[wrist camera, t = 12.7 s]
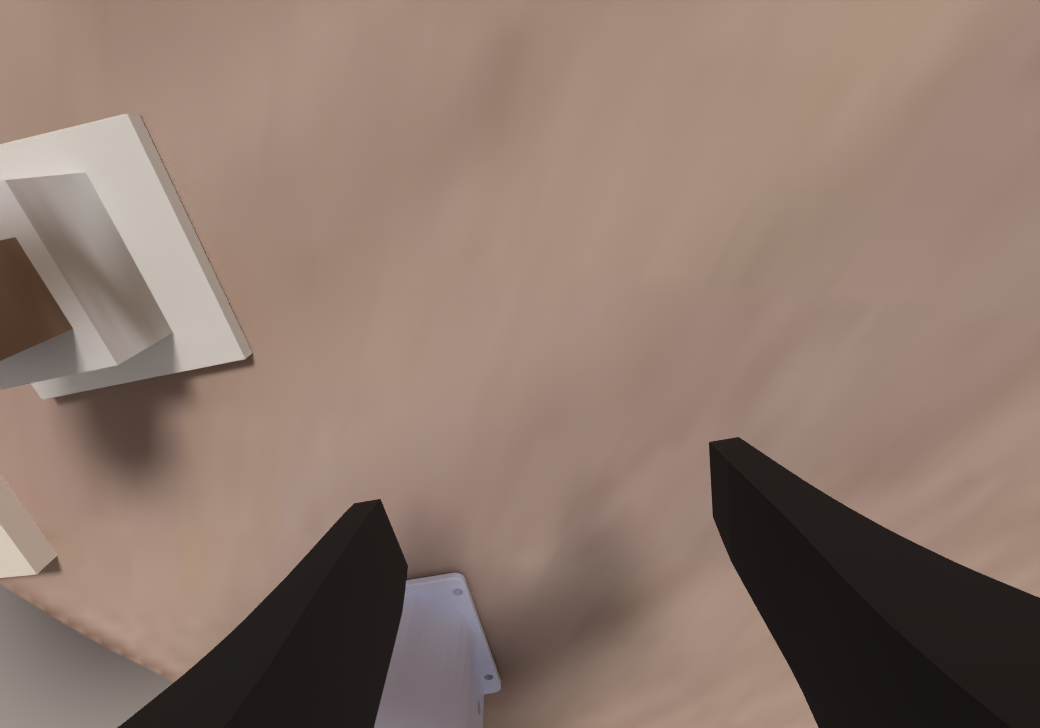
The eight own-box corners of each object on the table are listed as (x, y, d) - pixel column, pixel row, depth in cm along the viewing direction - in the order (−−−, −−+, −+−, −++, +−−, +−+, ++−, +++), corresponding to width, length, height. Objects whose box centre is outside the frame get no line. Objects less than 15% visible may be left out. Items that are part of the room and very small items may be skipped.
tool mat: (252, 353, 21) (245, 359, 20) (54, 392, 21) (42, 399, 21) (139, 113, 17) (126, 113, 16) (-97, 171, 18) (-117, 172, 17)
